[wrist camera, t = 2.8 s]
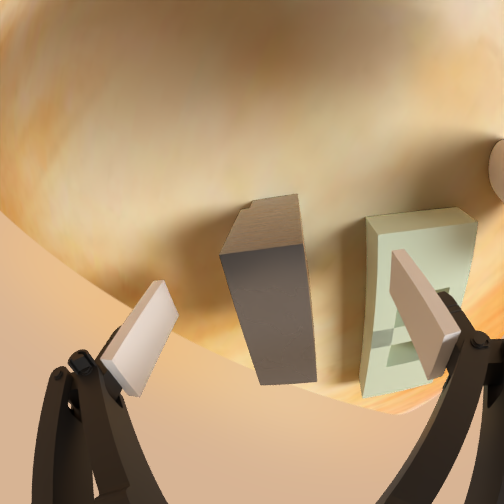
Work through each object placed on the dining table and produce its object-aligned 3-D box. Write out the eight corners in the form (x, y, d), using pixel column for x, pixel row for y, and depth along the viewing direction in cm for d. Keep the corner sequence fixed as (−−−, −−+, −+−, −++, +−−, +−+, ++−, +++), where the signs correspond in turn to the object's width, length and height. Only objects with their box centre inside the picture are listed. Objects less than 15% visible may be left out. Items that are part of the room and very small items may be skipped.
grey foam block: (250, 189, 18) (219, 254, 10) (295, 182, 17) (303, 243, 9) (271, 289, 21) (260, 385, 13) (309, 285, 21) (316, 381, 13)
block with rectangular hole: (365, 217, 17) (378, 234, 15) (457, 206, 16) (477, 221, 13) (358, 376, 25) (362, 398, 23) (424, 362, 24) (431, 382, 21)
